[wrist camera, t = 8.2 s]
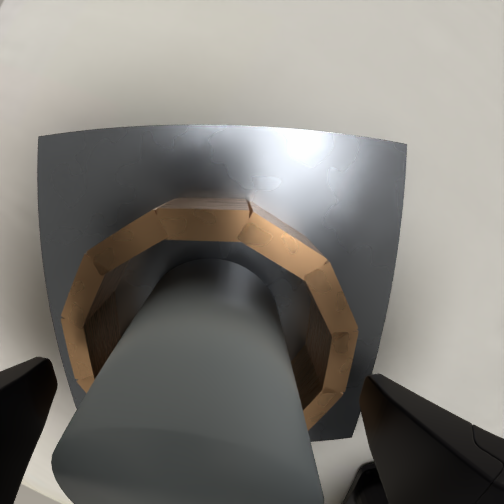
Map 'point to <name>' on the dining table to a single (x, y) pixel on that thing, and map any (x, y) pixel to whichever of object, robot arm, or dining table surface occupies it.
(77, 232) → the duct collar
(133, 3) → the dining table surface
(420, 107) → the dining table surface
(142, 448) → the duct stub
